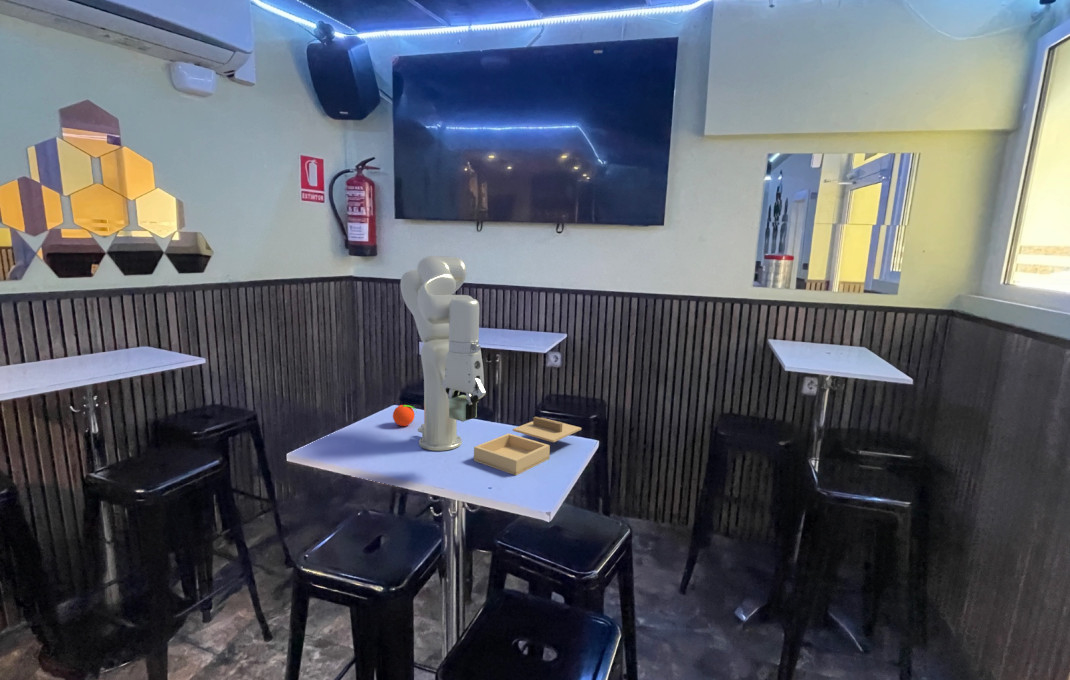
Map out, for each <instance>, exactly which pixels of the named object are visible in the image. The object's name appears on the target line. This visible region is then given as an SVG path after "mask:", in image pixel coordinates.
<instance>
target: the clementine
mask: <svg viewBox="0 0 1070 680" xmlns="http://www.w3.org/2000/svg"><path fill="white" fill-rule="evenodd" d="M414 410H415V411H417V409H416V408H415V407H414V406H412V405H409V404H400V405H398V406H396V408H395V409H394V410H393V412H392V419H393V421H394V423H395V424H396V425H397V426H401V427H406V426H409V425H410V424H412V422H413V421H414V419H415V412H414Z"/></svg>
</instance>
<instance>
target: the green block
mask: <svg viewBox="0 0 1070 680" xmlns="http://www.w3.org/2000/svg"><path fill="white" fill-rule="evenodd" d="M466 404H468V402H467V397H466V394H461V395H459V396H457V397H454V398H450V399H449V418H452V419H456V420H457V421H459V422H460V421H461V422H466V421H469V420H472V419H475V418H477V417H478V415H477V414H478V413H477V410H478V407H477V406H478V404H477V403H476V417H475V418H472V419H469V420H467V419H466Z"/></svg>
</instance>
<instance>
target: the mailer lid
mask: <svg viewBox="0 0 1070 680" xmlns="http://www.w3.org/2000/svg"><path fill="white" fill-rule="evenodd" d="M532 420H533V421H530V422H527V423H525V424H522V425H520V426H517V427H514V428H512V431H513V432H516V433H520V434H522V435H525V436H529V437H533V438H536V439H539V440H540V439H541V440H544V441H546V442H550V443H555V442H558V441H560V440H562V439H564V438H567V437H569V436H571V435H573V434H575V433H578V432H579V431H582V427H580V426H576V425H572V424H568V423H565V422H562V421H557V420H553V419H548V418H545V417H539V416H534V417H533V418H532Z"/></svg>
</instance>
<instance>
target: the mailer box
mask: <svg viewBox="0 0 1070 680" xmlns="http://www.w3.org/2000/svg"><path fill="white" fill-rule="evenodd" d="M550 446H551V445H550V444H547V443H543V442H540V441H537V440H533V439H529V438H526V437H524V436H520V435H515V434H512V433H509V432H508V433H506V434H504V435H501V436H499V437H496V438H494V439H490V440H489V441H486V442H483V443H481V444H477V445H475V446H474V447H473V461H475V462H476V463H480V464H482V465H485V466H488V467H491V468H494V469H496V470H500V471H503V472H505V473H507V474H511V475H514V476H517V475H520V474H522V473H524V472H526V471H528V470H529V469H532V468H534V467H535V466H537V465H540V464H542V463H544V462H546V461H548V460H549V459H550V453H551V451H550V450H551V449H550Z"/></svg>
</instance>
